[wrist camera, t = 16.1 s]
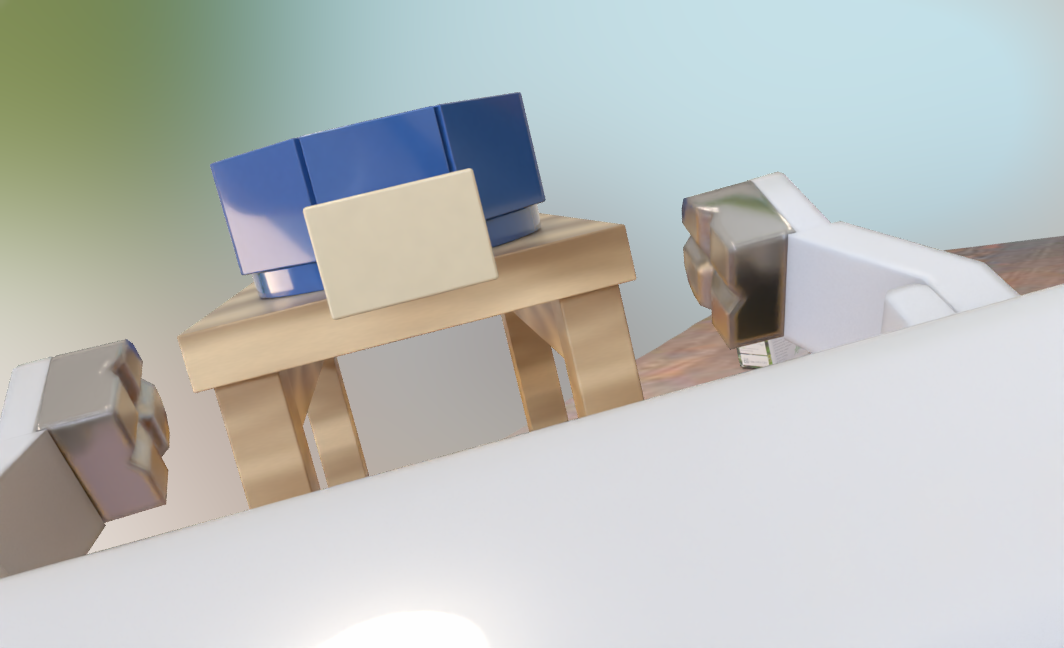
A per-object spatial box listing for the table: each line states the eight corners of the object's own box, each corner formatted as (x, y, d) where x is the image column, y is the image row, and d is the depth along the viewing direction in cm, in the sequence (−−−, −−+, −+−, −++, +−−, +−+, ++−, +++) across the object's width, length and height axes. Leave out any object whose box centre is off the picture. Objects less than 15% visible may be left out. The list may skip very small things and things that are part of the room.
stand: (782, 938, 35) (625, 223, 31) (396, 1070, 34) (176, 336, 30) (625, 648, 58) (522, 210, 54) (390, 718, 56) (264, 273, 52)
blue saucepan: (272, 282, 43) (240, 168, 42) (522, 221, 44) (496, 109, 43) (36, 487, 14) (-86, 120, 13) (806, 284, 15) (740, -62, 14)
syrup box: (811, 356, 111) (787, 229, 109) (773, 372, 109) (747, 242, 106) (775, 353, 116) (750, 232, 114) (737, 368, 114) (712, 244, 111)
